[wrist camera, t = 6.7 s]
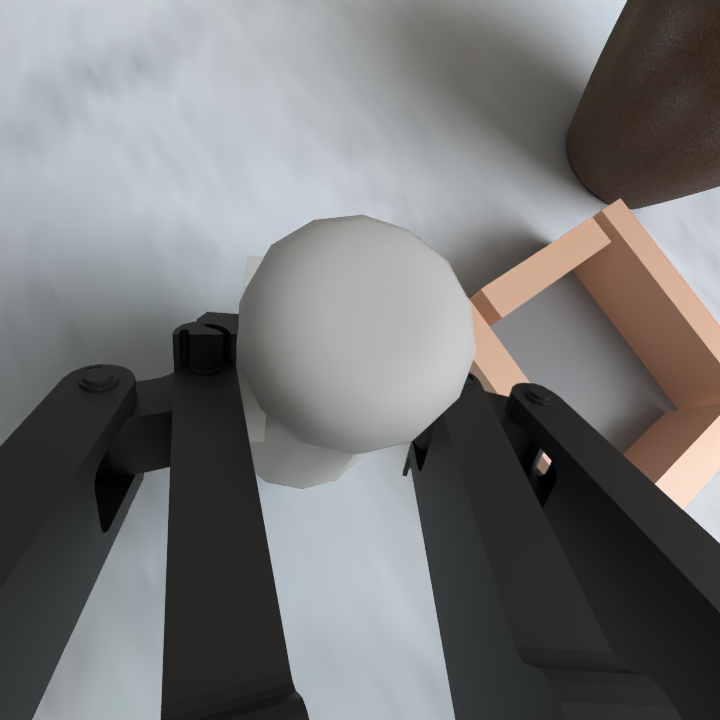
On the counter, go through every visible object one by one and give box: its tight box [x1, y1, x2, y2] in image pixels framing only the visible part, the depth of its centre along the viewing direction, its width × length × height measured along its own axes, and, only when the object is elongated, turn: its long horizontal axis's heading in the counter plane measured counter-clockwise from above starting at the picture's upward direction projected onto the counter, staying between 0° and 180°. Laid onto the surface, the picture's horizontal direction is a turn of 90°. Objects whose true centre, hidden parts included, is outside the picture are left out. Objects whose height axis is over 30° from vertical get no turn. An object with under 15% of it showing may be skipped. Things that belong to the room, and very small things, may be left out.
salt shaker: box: [237, 215, 476, 489], centre depth 13 cm, size 6×6×13 cm
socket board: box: [468, 198, 720, 509], centre depth 21 cm, size 12×12×5 cm
